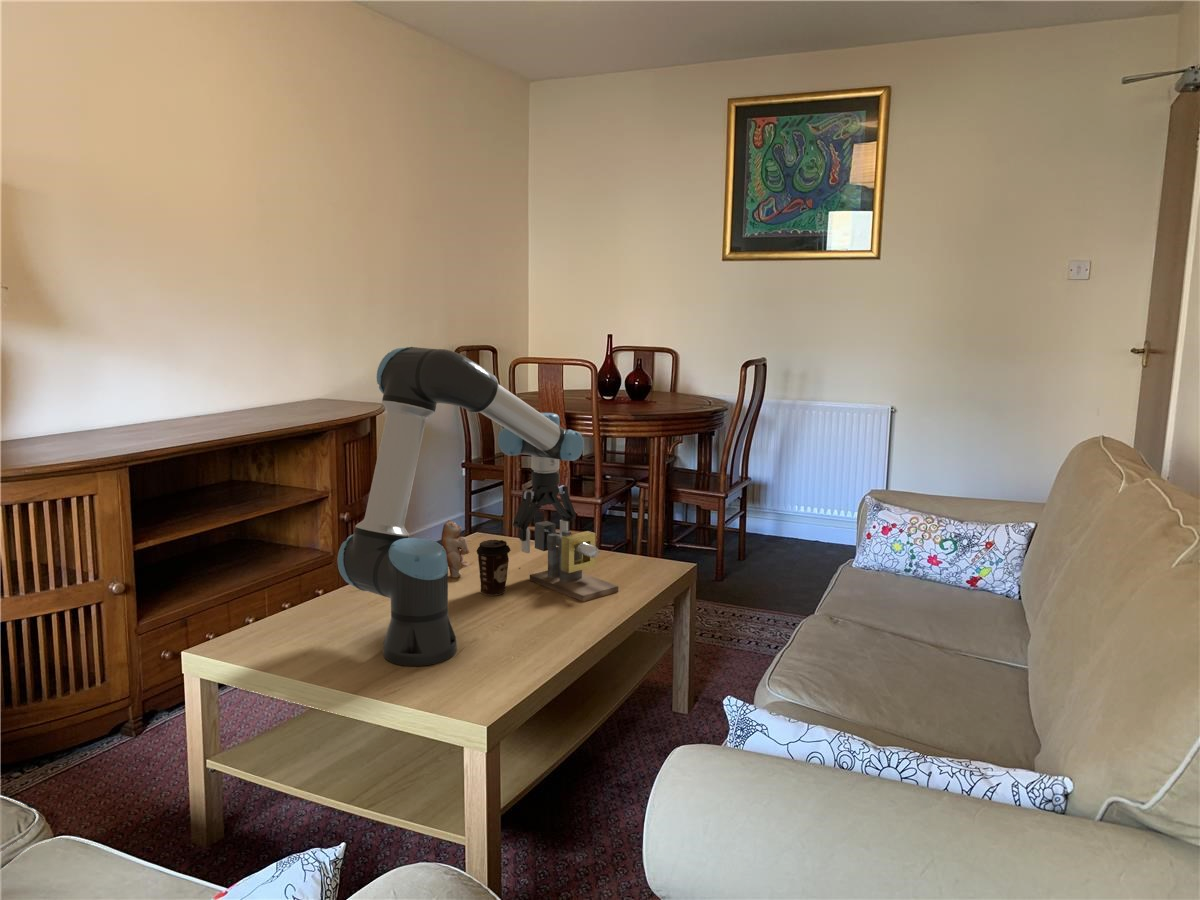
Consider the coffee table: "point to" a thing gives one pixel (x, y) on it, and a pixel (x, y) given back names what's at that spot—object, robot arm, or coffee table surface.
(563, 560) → the block
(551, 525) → the shaft
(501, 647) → the coffee table surface
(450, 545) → the figurine
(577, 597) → the bearing block
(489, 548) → the coffee cup
